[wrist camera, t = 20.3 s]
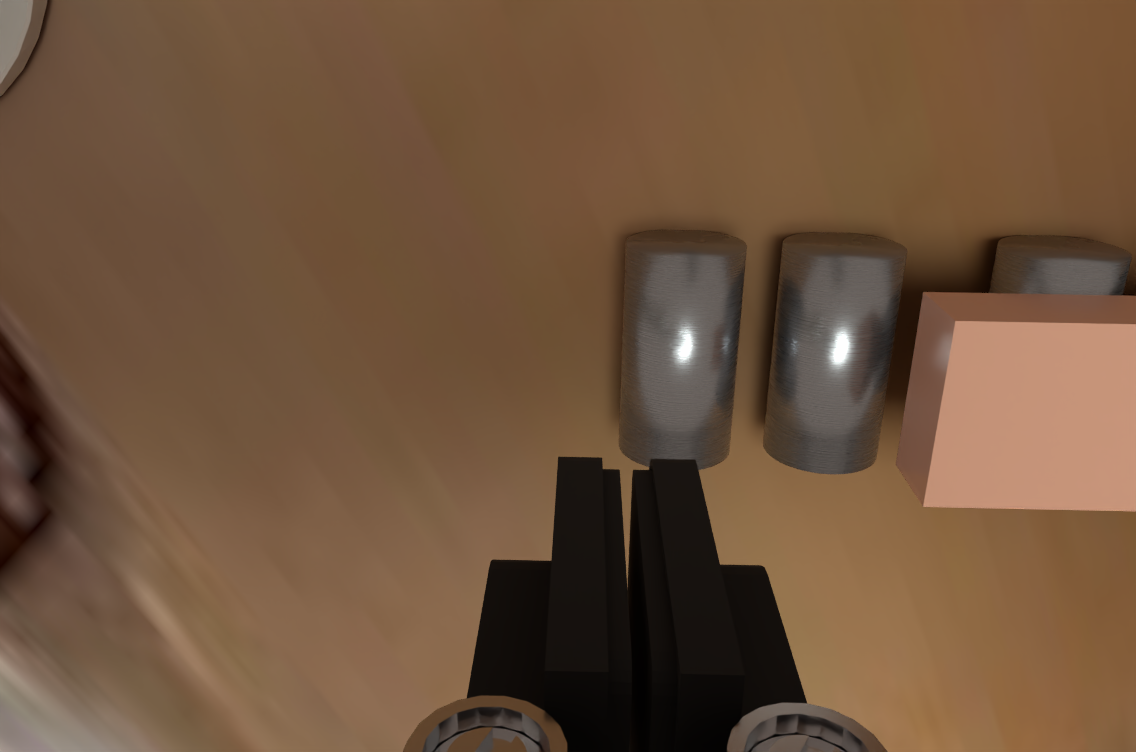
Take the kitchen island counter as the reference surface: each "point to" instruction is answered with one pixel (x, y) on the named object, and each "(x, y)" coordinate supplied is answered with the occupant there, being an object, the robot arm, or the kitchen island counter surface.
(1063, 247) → the loose steel roller
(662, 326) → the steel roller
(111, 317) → the kitchen island counter surface
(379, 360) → the kitchen island counter surface
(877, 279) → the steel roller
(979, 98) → the kitchen island counter surface
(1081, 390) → the terracotta slab
